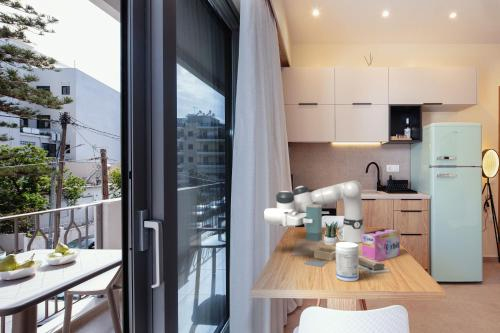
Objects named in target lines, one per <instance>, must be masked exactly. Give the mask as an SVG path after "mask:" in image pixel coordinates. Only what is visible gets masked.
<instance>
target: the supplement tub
mask: <svg viewBox="0 0 500 333" xmlns="http://www.w3.org/2000/svg"><path fill="white" fill-rule="evenodd" d="M335 246H336V258H335V277H336V278H337V280H340V281H342V282H343V281H344V282H357V281H358V280H359V277H360V275H359V274H360V271H359V270H360V269H359V252H360V251H359V244H358V243H353V242H345V241H340V242H339V241H338V242H336V243H335Z"/></svg>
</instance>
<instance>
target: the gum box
mask: <svg viewBox="0 0 500 333" xmlns="http://www.w3.org/2000/svg"><path fill="white" fill-rule="evenodd" d="M400 240H401V239H400V230H399V229H397V230H394V229H390V227H389V228H387V227H386V228H381V229H377V230H372V231H368V232H365V233H362V242H361V243H362V246H361V247H362V250H361V252H362V253H361V255H365V256H367V257H369V258H372V259H374V260H376V261H378V262H382V261H385V260H389V259H392V258H395V257H398V256H401V241H400Z"/></svg>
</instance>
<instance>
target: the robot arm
mask: <svg viewBox="0 0 500 333" xmlns="http://www.w3.org/2000/svg"><path fill="white" fill-rule="evenodd" d="M363 189H364V188H363V185H362V183H361V182H359V181H358V180H349V181H345V182H341V183H337V184H333V185H329V186H326V187H325V186H324V187H322V188H319V189H318V188H317V189H315V190H312V189H311V188H309V187H307V186H306V185H299V186H296V187H295V188H294V189H293V190H292V191H288V190H281V191H279V192H278V193H276V195H275V201H276V207H268V208H265V209H264V211H263V220H264V222H265V223H266V224H271V225H275V226H282V227H285V228H286V227H295V226H296V227H298V226H301V225H305V224H306V223H313V222H314V220H313V219H306V205H309V204H315V205H322V206H323V205H328V204H331V203H333V204H334V203H336V202H340V201H343V206H344V207H343V208H344V213H343V214H344V216H343V222H342V223H343V224H342V225H341V226H339V229H337V232H338V233H339V234H336V235H337V237H338V238H337V237H336V238H337V240H338V242H339V241H340V242H351V243H356V244H359V243H362V233H366V228H365V226H364V219H363V204H362V202H363V201H362V193H363V191H364V190H363ZM311 190H312V191H311ZM310 191H311V192H310Z"/></svg>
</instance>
